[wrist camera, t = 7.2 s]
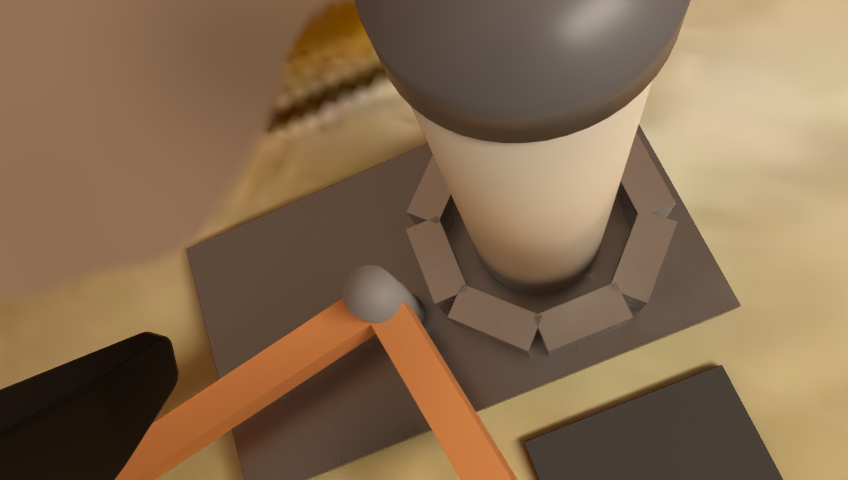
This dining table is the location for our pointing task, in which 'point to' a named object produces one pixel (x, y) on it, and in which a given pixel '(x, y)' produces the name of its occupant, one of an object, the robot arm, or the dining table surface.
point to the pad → (661, 438)
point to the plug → (527, 115)
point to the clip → (313, 351)
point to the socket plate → (437, 303)
